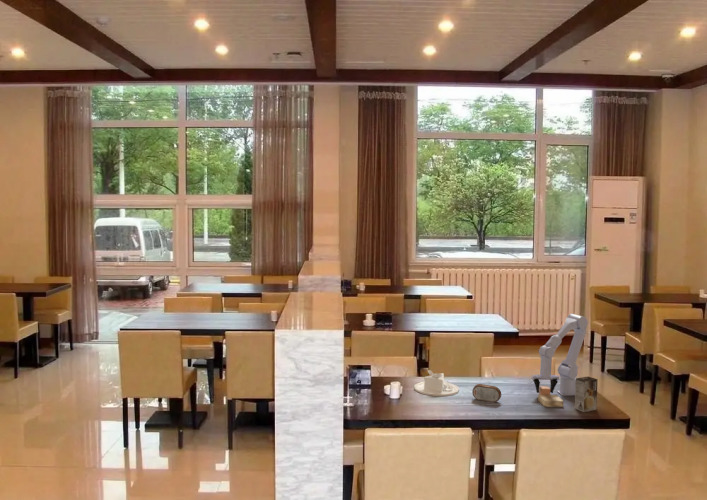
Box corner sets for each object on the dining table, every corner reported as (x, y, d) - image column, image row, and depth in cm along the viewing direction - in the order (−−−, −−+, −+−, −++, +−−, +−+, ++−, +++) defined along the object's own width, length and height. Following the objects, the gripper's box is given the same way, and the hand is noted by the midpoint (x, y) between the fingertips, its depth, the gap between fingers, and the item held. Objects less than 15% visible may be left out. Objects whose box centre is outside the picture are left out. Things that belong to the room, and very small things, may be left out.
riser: (556, 400, 344) (556, 395, 344) (563, 406, 334) (563, 401, 334) (537, 400, 344) (538, 394, 343) (544, 406, 334) (544, 400, 333)
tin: (501, 402, 340) (501, 386, 339) (499, 404, 337) (500, 388, 336) (473, 398, 346) (473, 382, 345) (471, 399, 343) (472, 384, 342)
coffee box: (586, 406, 336) (588, 376, 334) (596, 410, 330) (598, 379, 328) (574, 408, 331) (575, 378, 330) (583, 412, 326) (585, 381, 324)
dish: (448, 399, 343) (449, 378, 342) (406, 391, 356) (407, 371, 355) (466, 388, 364) (466, 368, 363) (425, 380, 377) (426, 362, 376)
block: (547, 395, 353) (547, 386, 353) (550, 397, 349) (550, 388, 348) (539, 395, 353) (539, 386, 353) (541, 397, 349) (542, 388, 348)
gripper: (556, 366, 354) (555, 390, 355) (530, 365, 353) (529, 390, 354) (561, 369, 347) (559, 394, 348) (534, 369, 346) (533, 394, 347)
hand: (544, 392), depth 351 cm, fingers open, 7 cm apart
